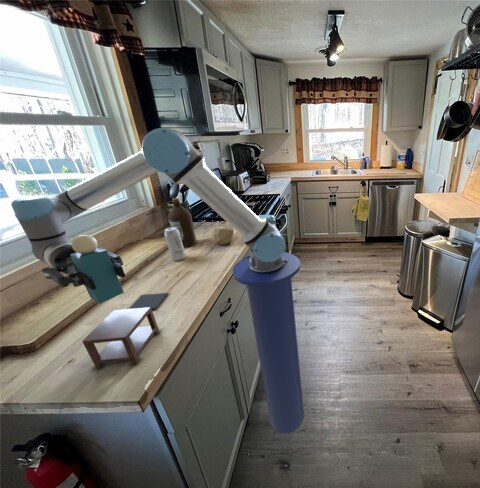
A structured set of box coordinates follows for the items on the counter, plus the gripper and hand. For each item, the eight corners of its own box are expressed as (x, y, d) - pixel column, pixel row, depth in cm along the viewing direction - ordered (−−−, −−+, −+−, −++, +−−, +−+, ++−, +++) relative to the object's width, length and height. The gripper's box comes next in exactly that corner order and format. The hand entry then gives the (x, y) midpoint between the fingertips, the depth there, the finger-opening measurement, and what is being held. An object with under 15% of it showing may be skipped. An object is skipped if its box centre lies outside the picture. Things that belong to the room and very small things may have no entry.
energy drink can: (180, 261, 121) (171, 231, 115) (169, 260, 122) (160, 231, 116) (188, 256, 126) (181, 227, 120) (178, 255, 127) (169, 226, 121)
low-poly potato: (227, 249, 133) (243, 234, 137) (211, 234, 128) (228, 218, 133) (219, 248, 145) (234, 234, 149) (204, 234, 140) (220, 220, 144)
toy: (114, 287, 68) (90, 230, 62) (124, 292, 66) (99, 233, 59) (90, 297, 64) (61, 237, 57) (99, 303, 61) (70, 241, 55)
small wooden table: (159, 331, 78) (150, 306, 74) (137, 363, 67) (125, 337, 63) (124, 334, 77) (113, 310, 73) (96, 368, 66) (81, 341, 62)
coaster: (167, 294, 96) (167, 292, 96) (155, 309, 88) (155, 308, 87) (142, 296, 95) (141, 295, 95) (127, 311, 87) (127, 310, 87)
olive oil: (187, 239, 146) (176, 195, 136) (202, 241, 143) (191, 196, 133) (171, 246, 137) (158, 200, 127) (186, 249, 134) (173, 201, 124)
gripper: (111, 256, 79) (153, 274, 68) (28, 285, 65) (63, 313, 54) (102, 234, 76) (144, 248, 65) (13, 259, 62) (47, 283, 51)
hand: (107, 277), depth 60 cm, fingers closed on toy, 5 cm apart
